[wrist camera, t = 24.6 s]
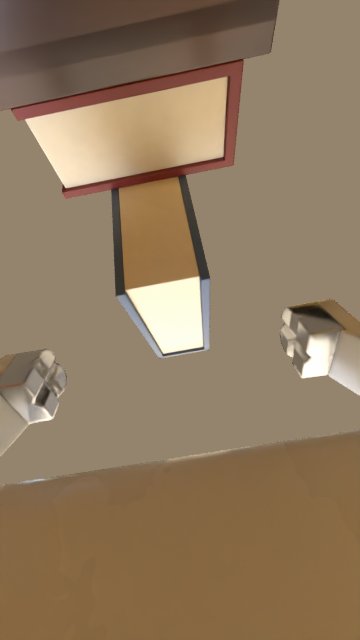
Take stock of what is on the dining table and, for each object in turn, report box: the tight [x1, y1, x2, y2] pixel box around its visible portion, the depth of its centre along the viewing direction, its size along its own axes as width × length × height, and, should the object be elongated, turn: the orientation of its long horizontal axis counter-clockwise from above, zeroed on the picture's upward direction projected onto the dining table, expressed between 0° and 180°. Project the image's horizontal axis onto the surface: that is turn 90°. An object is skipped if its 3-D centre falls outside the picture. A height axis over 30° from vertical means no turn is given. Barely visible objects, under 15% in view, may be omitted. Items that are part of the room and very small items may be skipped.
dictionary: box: [11, 59, 243, 198], centre depth 13 cm, size 9×12×4 cm
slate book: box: [111, 175, 210, 358], centre depth 19 cm, size 4×20×10 cm, turn 171°
